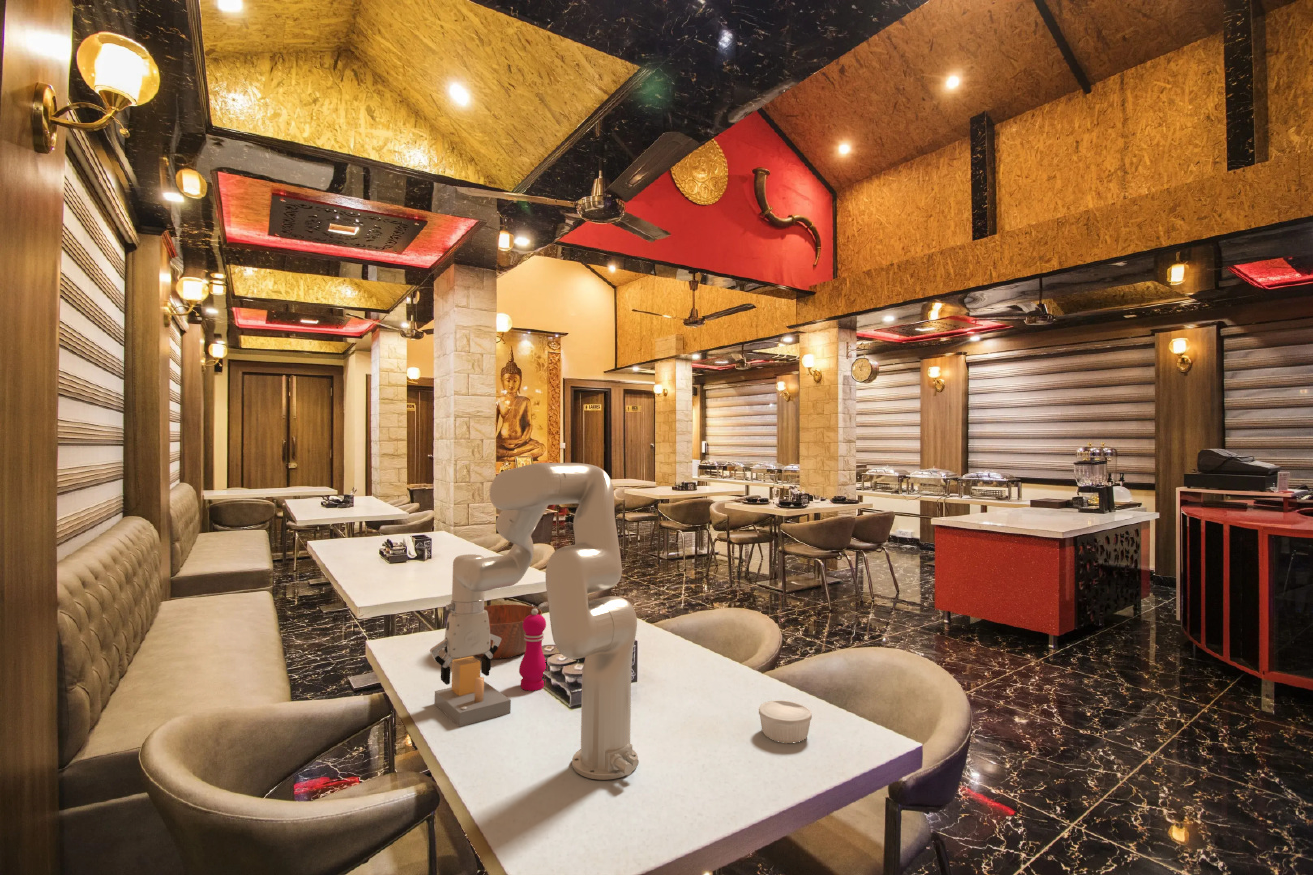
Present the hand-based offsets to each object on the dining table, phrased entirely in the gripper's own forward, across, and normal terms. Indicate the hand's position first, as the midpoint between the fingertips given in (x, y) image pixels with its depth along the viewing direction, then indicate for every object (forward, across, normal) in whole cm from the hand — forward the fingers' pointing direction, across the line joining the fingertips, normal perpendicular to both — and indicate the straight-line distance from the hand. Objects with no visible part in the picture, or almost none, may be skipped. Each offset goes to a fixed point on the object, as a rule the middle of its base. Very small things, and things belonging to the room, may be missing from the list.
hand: (465, 678), depth 143 cm
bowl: (+6, +24, +33) cm, 41 cm away
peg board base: (+6, 0, -4) cm, 7 cm away
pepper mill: (+6, +18, 0) cm, 19 cm away
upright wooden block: (+3, 0, 0) cm, 3 cm away
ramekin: (+6, +48, -58) cm, 76 cm away
